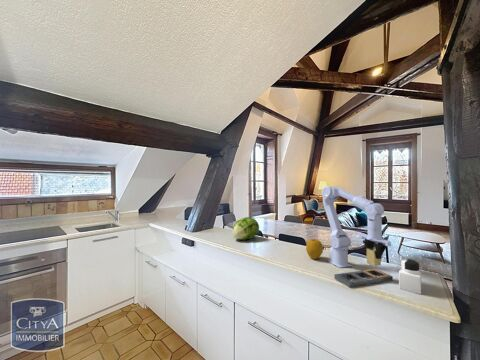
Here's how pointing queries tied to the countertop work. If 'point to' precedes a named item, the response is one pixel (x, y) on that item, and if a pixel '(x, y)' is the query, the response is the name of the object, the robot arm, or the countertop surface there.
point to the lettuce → (245, 228)
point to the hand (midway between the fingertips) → (374, 257)
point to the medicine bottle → (410, 276)
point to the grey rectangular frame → (360, 281)
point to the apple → (314, 248)
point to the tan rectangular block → (372, 257)
